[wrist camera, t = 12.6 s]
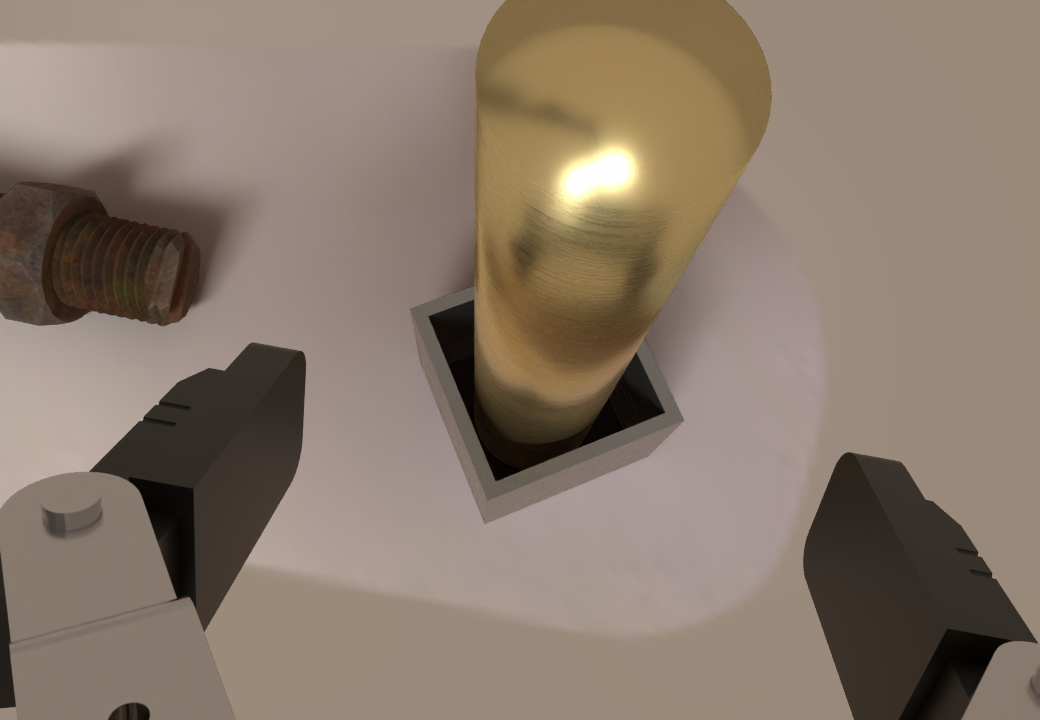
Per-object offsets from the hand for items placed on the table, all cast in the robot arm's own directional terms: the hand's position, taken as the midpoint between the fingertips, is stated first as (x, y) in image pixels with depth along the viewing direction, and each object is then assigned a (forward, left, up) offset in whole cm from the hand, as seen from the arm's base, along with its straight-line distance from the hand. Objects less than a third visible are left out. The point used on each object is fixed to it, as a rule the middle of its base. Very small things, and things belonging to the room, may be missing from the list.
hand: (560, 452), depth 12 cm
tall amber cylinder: (+2, +4, -15) cm, 16 cm away
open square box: (+2, +4, -15) cm, 16 cm away
